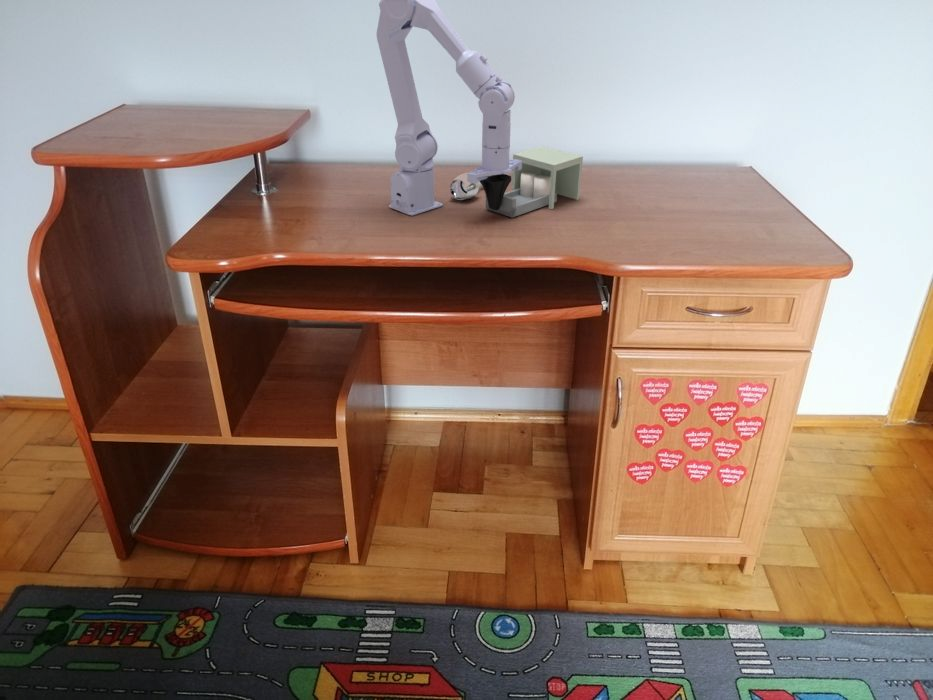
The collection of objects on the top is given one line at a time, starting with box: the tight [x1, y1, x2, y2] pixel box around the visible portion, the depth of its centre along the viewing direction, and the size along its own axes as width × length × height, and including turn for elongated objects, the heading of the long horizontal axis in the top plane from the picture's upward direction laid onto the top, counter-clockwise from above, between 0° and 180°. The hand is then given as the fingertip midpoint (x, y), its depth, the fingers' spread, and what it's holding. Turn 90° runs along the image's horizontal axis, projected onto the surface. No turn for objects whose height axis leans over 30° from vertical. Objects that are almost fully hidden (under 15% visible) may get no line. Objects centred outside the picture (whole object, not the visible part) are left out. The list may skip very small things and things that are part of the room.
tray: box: [485, 171, 558, 219], centre depth 156 cm, size 15×8×6 cm, turn 134°
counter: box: [511, 145, 584, 210], centre depth 160 cm, size 10×12×10 cm
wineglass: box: [449, 172, 483, 201], centre depth 163 cm, size 6×6×12 cm
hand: (494, 208), depth 152 cm, fingers closed
